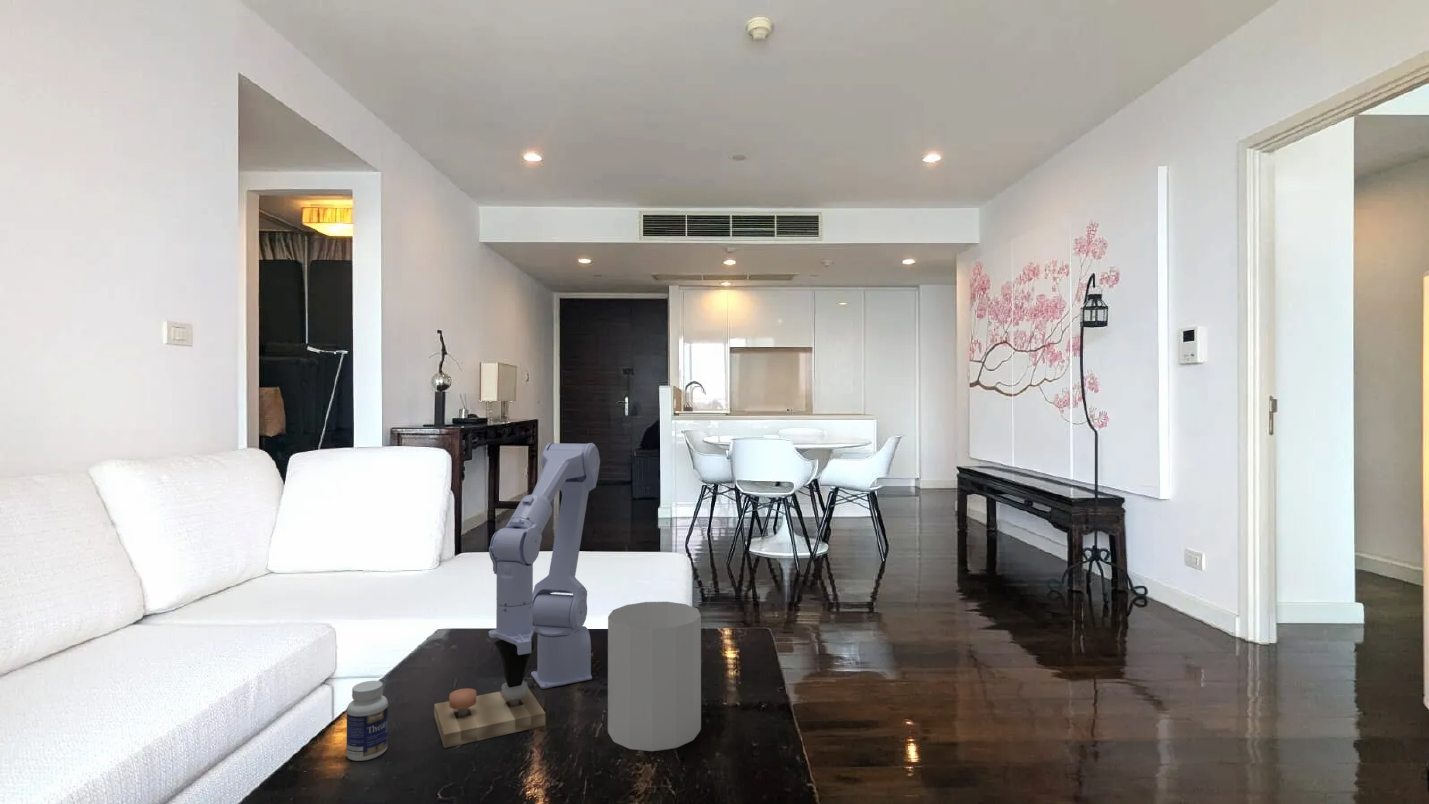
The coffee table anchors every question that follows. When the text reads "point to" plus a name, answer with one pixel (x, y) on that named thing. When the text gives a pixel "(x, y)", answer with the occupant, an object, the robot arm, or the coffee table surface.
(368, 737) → the pill bottle
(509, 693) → the grey plunger
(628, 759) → the coffee table surface
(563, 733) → the coffee table surface
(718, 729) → the coffee table surface
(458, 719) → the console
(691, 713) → the container
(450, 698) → the rust plunger
